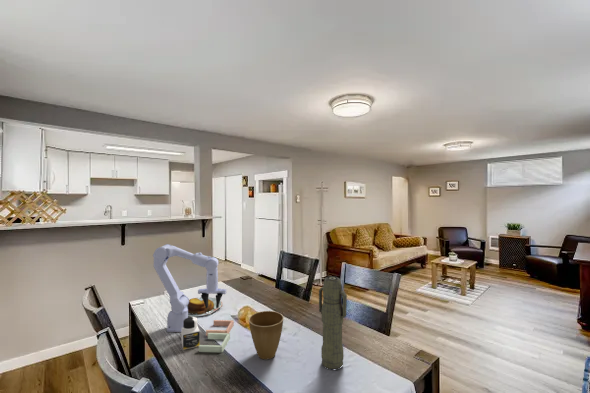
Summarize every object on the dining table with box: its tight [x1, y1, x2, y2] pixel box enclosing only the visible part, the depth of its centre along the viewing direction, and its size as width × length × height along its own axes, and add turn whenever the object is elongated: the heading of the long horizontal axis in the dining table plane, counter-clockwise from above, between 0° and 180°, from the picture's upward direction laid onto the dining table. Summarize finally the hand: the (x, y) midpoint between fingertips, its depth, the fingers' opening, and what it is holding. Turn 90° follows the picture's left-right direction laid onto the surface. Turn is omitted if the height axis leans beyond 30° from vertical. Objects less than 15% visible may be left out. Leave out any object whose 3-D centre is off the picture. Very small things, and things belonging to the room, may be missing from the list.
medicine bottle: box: [180, 316, 201, 351], centre depth 129 cm, size 7×7×12 cm
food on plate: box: [187, 296, 223, 317], centre depth 170 cm, size 25×25×7 cm
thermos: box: [318, 275, 348, 370], centre depth 115 cm, size 9×12×35 cm
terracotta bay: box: [205, 319, 235, 337], centre depth 143 cm, size 10×12×2 cm
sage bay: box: [198, 332, 231, 353], centre depth 129 cm, size 10×12×2 cm
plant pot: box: [248, 310, 285, 360], centre depth 121 cm, size 15×15×16 cm
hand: (212, 307), depth 146 cm, fingers open, 5 cm apart
